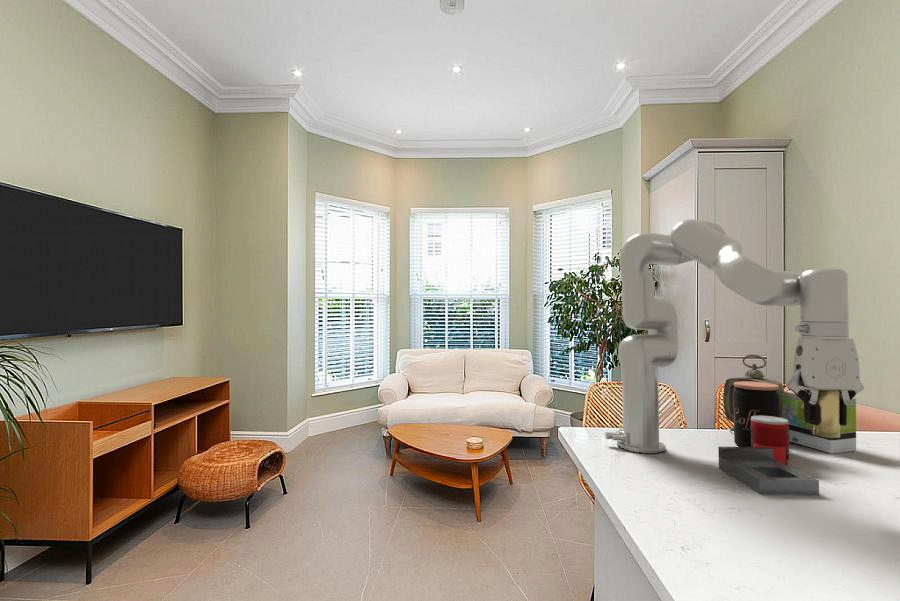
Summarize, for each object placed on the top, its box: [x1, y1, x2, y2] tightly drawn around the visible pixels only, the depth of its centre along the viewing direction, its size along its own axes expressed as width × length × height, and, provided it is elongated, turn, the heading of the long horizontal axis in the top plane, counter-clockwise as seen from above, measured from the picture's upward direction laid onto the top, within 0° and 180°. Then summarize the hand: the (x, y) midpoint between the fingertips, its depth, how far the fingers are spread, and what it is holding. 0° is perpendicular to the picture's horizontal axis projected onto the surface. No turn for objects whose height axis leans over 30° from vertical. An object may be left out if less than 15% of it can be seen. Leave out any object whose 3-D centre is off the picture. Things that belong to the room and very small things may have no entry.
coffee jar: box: [733, 381, 779, 447], centre depth 132 cm, size 11×11×18 cm
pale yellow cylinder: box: [811, 390, 840, 438], centre depth 93 cm, size 4×4×9 cm
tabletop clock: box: [723, 354, 785, 431], centre depth 145 cm, size 14×9×25 cm, turn 28°
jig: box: [717, 446, 820, 496], centre depth 106 cm, size 12×16×5 cm
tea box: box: [781, 390, 857, 455], centre depth 135 cm, size 15×10×15 cm
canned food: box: [751, 416, 790, 466], centre depth 120 cm, size 8×8×11 cm
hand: (825, 422), depth 93 cm, fingers closed on pale yellow cylinder, 4 cm apart
